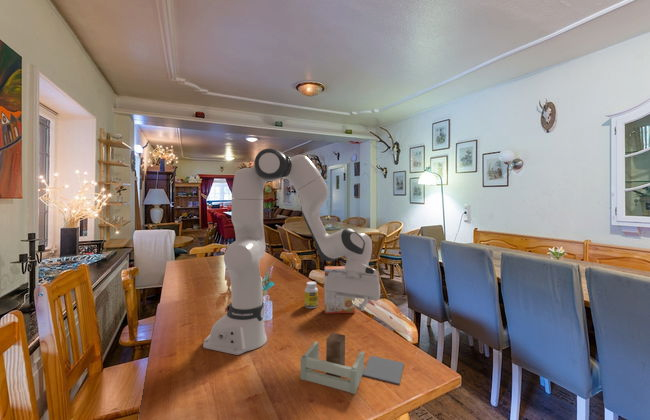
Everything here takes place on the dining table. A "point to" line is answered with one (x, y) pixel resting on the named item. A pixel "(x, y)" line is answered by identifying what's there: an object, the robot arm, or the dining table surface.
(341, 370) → the crate
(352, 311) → the cracker box
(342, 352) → the walnut block
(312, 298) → the pill bottle
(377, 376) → the mat
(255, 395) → the dining table surface
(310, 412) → the dining table surface
